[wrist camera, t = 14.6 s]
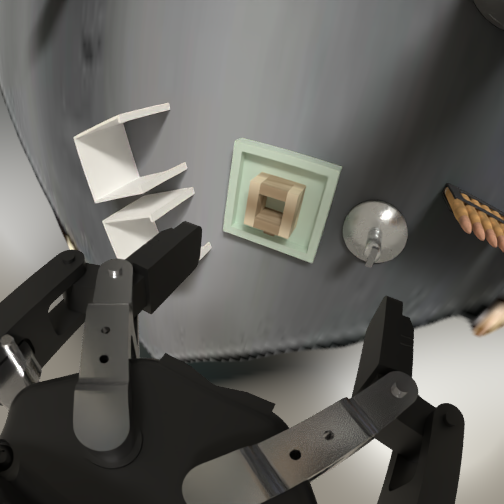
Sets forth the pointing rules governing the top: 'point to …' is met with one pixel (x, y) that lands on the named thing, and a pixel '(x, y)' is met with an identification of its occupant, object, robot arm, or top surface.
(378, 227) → the grey round stand
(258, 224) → the brown wooden frame
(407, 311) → the top surface
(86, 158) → the storage container
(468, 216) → the ammunition clip
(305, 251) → the tray
